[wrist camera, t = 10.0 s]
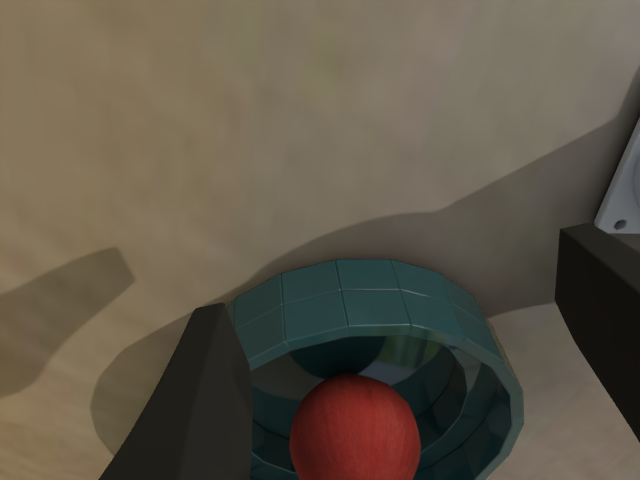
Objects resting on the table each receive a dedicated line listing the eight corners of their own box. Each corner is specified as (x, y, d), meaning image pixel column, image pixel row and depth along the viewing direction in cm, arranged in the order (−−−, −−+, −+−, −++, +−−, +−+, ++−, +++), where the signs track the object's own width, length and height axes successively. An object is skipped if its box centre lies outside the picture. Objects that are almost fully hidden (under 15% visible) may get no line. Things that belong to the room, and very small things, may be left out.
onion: (360, 422, 31) (389, 579, 25) (266, 397, 29) (270, 560, 23) (422, 356, 28) (472, 512, 22) (322, 322, 26) (345, 484, 20)
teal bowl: (526, 251, 26) (572, 322, 22) (454, 449, 35) (478, 523, 31) (181, 251, 24) (169, 329, 20) (199, 461, 33) (193, 541, 29)
